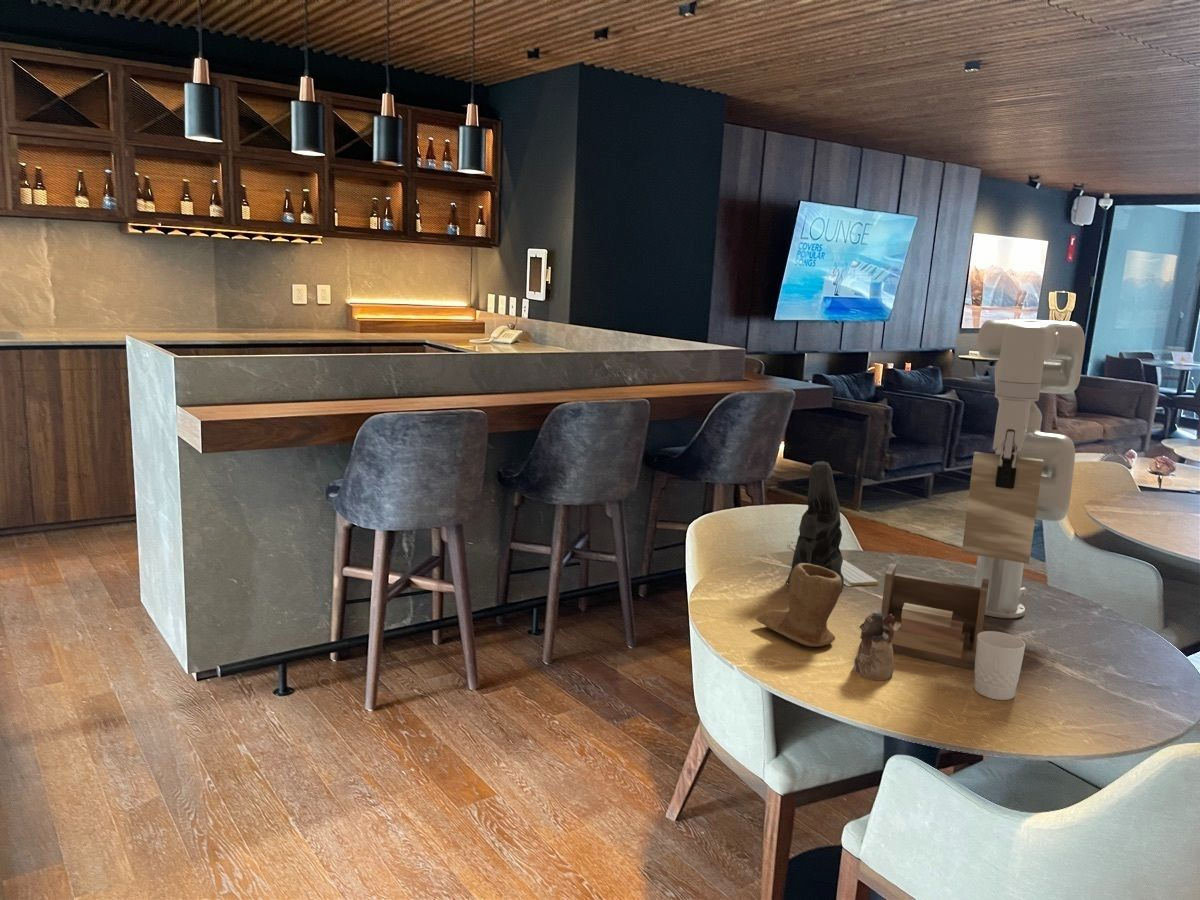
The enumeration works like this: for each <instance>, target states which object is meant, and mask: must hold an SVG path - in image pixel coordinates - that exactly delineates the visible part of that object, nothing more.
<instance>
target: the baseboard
mask: <svg viewBox="0 0 1200 900" xmlns="http://www.w3.org/2000/svg"><path fill="white" fill-rule="evenodd" d="M793 543H796V544H797V541H795V542H793V541H791V544H793ZM791 544H789V545H788V544H787V545H786V547H787V549H789V548H790V549H791V550H792V551H794V552H795V548H796V544H795V545H794V546H791ZM841 573H842V575H843V576H844V584H845V585H846V586H845V585H844V586H845V587H848V586H847V585H866V586H878V585H879V580H877V579H875V578H874V577H872V576H871V575H869V574H867V572H866V573H865V572H864V571H862V570H861V569H860V568H858V567H856V566H855V565H853V564H852V563H850V562H848V561H847V560H845V559H844V558H843V562H842V566H841Z"/></svg>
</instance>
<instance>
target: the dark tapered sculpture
mask: <svg viewBox="0 0 1200 900" xmlns="http://www.w3.org/2000/svg"><path fill="white" fill-rule="evenodd" d="M807 505H808V506H807V509H806V511H805V512H804V513H803V514H802V516H801V518H800V519H801V520H800V524H799V528H798V530H799V531H798V532H799V535H798V537H797V539H796V542H797V543H796V544H795V545H796V548H795V551H794V553H793V557H792V563H791V569H790V572H789V573H788V577H787V579H786V582H787V583H788V584H789V582H790V576H791V572H792V570H793V569H794V567H795V566H796V565H798V564H800V563H808V564H813V565H817V566H821V567H824V568H827V569H829V570H832V571H834V572H836V573H837V574H838V575H839V576H840V577H841V580H842V589H841V592H842V591H843V589H844V586H845V585H844V576H843V575H842V573H841V566H842V562H843V559H844V558H843V555H842V552H841V549H840V546H841V541H842V537H843V533H842V530H841V524H842V523H841V509H840V502H839V500H838V496H837V491H836V485H835V481H834V477H833V470H832V467H831V465H830V464H829V462H828V461H824V460H822V461H815V462H813V464H812V466H811V468H810V471H809V482H808V489H807ZM787 583H786V584H787Z"/></svg>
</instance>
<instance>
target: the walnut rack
mask: <svg viewBox="0 0 1200 900" xmlns="http://www.w3.org/2000/svg"><path fill="white" fill-rule="evenodd" d="M884 573H885V574H884V584H883V585H884V586H883V593H882V603H881V611H880V612H882V614H883V617H884V618H885V617H886V616H888V615H890V614H893V616H894V619H893V620H892V621H891V622H890V623H891V625H892V626H894V624H895V622H896V621H897V622H901V620H902V618H901V616H902V608H903V606H904V603H908V604H914V605H919V606H925V607H930V608H936V609H941V610H947V611H952V612H953V614H952V620H954V621H959V622H963V629H962V634H964V635H965V636H964V644H963V651H962V656H961V658H957V657H952V656H947V655H942V654H937V653H932V652H927V651H923V650H918V649H913V648H908V647H903V646H898V645H893V644H892V648H893V654H897V655H902V656H905V657H906V656H907V657H911V658H916V659H922V660H924V661H925V660H926V661H931V662H935V663H940V664H945V665H948V666H949V665H950V666H955V667H960V668H965V669H969V670H974V671H975V656H976V644H977V635H978V634H979V633H980V632H984V631H983V630H984V622H985V616H986V615H985V608H986V600H987V592H988V585H989V580H988V579H982V585H981V588H979V587H974V585H966V584H960V583H954V582H950V581H949V582H948V581H943V580H937V579H932V578H925V577H920V576H919V577H918V576H915V575H914V576H913V575H908V574H901V573H897V563H889V565H888V568H887V570H886V571H885V572H884ZM883 632H884V633H885V634H887V635H888V636H890V632H889V631H888V630H884V631H883Z"/></svg>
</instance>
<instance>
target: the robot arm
mask: <svg viewBox="0 0 1200 900" xmlns="http://www.w3.org/2000/svg"><path fill="white" fill-rule="evenodd" d="M1085 344H1086V338H1085V333H1084V330H1083V327H1082V326H1081V325H1080V324H1079V323H1077V322H1076V321H1066V320H1048V319H1045V320H1043V319H1033V318H1030V319H1029V318H1028V319H1025V318H1022V319H1021V318H1020V319H1009V320H1008V319H1005V320H1004V319H1002V320H1000V319H997V320H996V319H987V320H985V322H983V324H982V325H981V326H980V328H979V331H978V334H977V341H976V345H977V350H978V354H979V355H980V356H981V358H983V359H991V360H997V362H996V364H995V367H994V368H995V369H994V386H995V392H994V398H996V399H997V401H998V410H997V414H996V420H995V421H996V422H995V429H994V430H995V431H994V436H993V443H992V450H993V451H995V453H994V454H999V455H1000V462H999V466H998V469H997V476H996V484H995V486H996V487H1000V488H1008V489H1013V488H1014V483H1015V475H1016V468H1015V464H1016V457H1025V458H1033V459H1042V460H1044V461H1043V468H1042V475H1041V482H1040V489H1039V497H1038V504H1037V511H1036V518H1035V520H1039V521H1045V522H1059V521H1062V520H1064V519H1065V518H1066V516H1067V514H1068V511H1069V508H1070V502H1071V496H1072V495H1071V494H1072V489H1073V488H1072V486H1073V477H1074V469H1075V458H1076V450H1075V449H1076V448H1075V445H1074V444H1075V443H1074V441H1073V440H1072V439H1071V438H1070V437H1069V436H1068V435H1064V434H1060V433H1054V432H1053V433H1051V432H1042V431H1041V428H1042V421H1043V414H1042V412H1041V410H1040V409H1039V407H1038V406H1037V403H1035V402H1039V400H1040V399H1039V398H1040V393H1045V394H1054V395H1056V394H1057V395H1068V394H1071V393H1073V392H1074V391H1075V390H1077V388H1078V386H1079V385H1080V380H1081V375H1082V370H1083V369H1082V367H1083V361H1084V354H1085ZM1012 461H1013V462H1012ZM1024 567H1025V563H1021V562H1015V561H1009V560H1003V559H997V558H991V557H985V556H979V555H977V559H976V567H975V568H976V569H975V575H974V584H973V587H979V588H981V585H982V579H988V580H989V585H988V592H987V600H986V608H985V615H984V616H988V617H994V618H999V619H1015V618H1016V619H1017V618H1021V617H1023V616H1025V613H1026V608H1025V606H1024V604H1022V603H1020V599H1021V597H1024V596H1027V595H1028V592H1029V591H1028V589H1027V588H1026V587H1024V586H1023V587H1022V580H1023V574H1024V573H1023V572H1024Z"/></svg>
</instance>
